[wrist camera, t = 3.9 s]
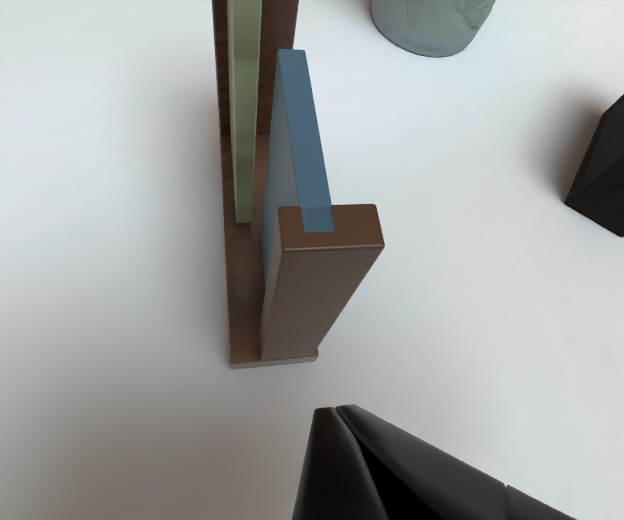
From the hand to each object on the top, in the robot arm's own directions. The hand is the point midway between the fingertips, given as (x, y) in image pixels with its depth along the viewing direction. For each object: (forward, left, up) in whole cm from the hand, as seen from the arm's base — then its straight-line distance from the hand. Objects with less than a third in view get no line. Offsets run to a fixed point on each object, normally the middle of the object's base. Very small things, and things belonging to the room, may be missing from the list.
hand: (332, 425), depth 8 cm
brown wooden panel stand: (+9, +5, -12) cm, 16 cm away
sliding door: (+6, +3, -10) cm, 12 cm away
